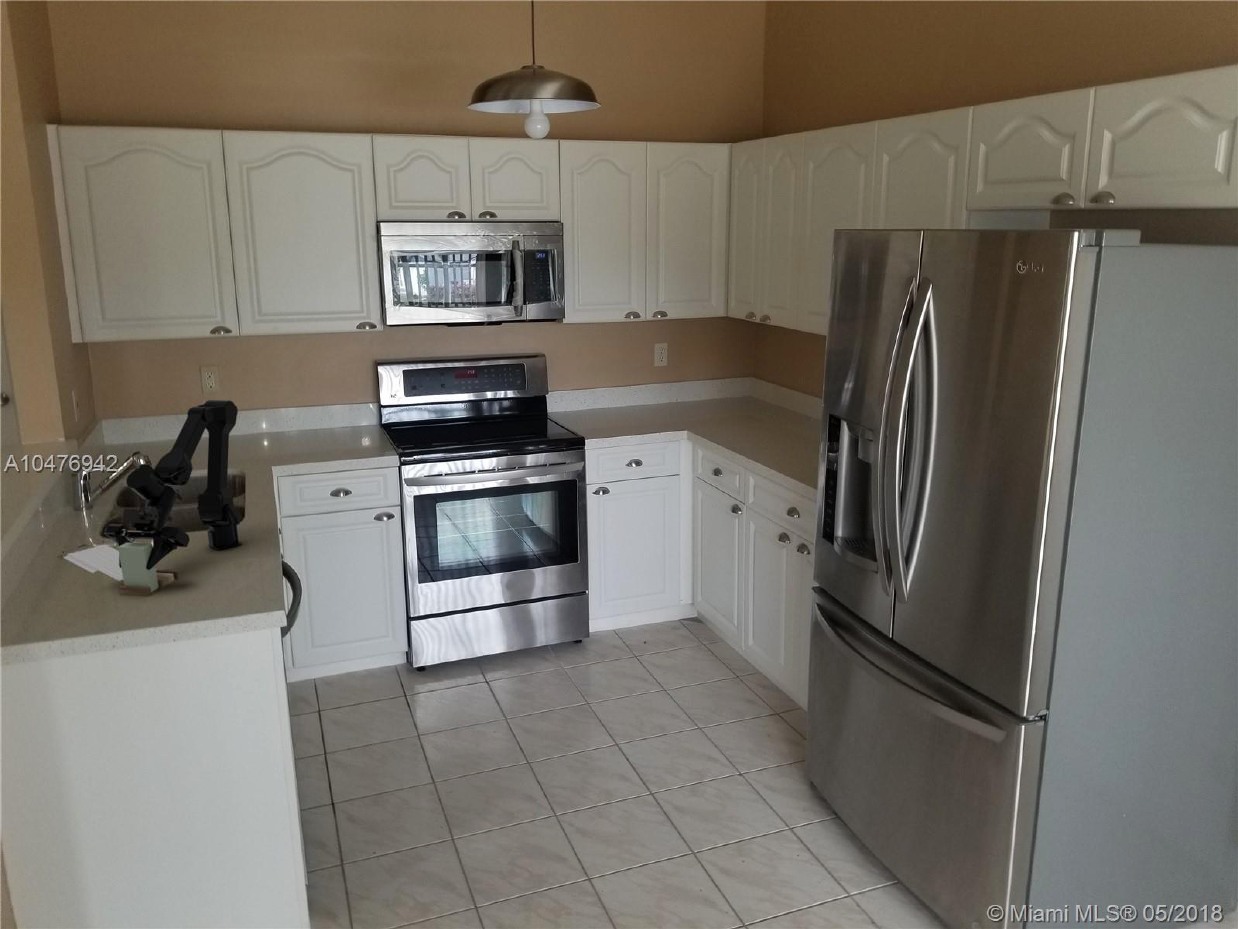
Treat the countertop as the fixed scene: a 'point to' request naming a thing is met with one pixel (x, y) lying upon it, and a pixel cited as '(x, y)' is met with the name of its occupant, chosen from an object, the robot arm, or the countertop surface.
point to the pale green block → (137, 565)
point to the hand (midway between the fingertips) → (134, 568)
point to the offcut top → (164, 576)
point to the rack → (147, 590)
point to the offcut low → (168, 580)
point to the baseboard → (97, 560)
